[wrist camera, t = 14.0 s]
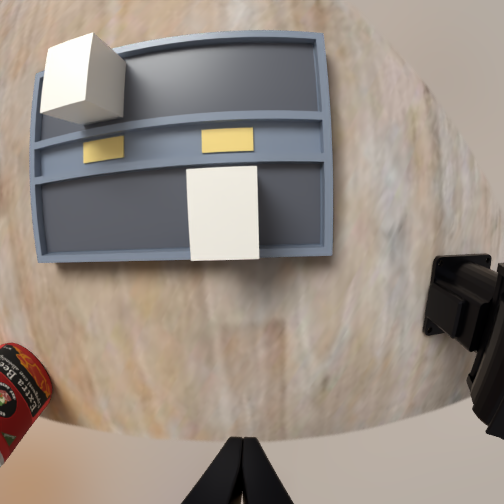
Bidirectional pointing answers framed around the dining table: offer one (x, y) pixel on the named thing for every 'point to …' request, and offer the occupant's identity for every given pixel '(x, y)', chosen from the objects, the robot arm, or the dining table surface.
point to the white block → (223, 213)
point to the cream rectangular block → (83, 81)
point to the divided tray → (190, 149)
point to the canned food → (20, 395)
